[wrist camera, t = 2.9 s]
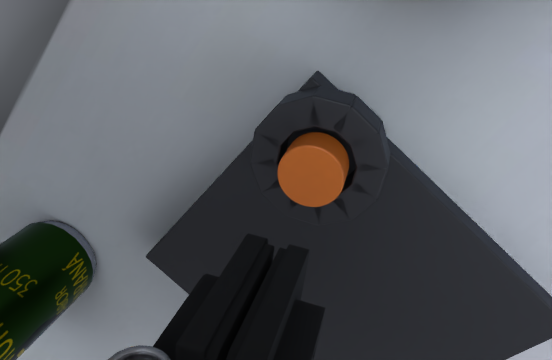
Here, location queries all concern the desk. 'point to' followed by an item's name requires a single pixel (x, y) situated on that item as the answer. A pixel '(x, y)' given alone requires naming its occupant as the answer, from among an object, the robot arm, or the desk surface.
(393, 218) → the scale
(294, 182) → the button
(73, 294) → the beer can
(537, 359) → the desk surface
